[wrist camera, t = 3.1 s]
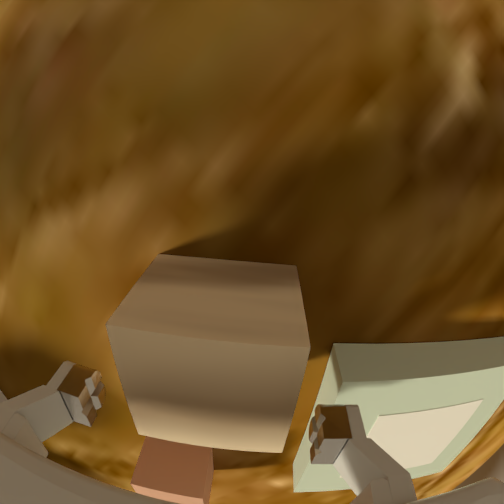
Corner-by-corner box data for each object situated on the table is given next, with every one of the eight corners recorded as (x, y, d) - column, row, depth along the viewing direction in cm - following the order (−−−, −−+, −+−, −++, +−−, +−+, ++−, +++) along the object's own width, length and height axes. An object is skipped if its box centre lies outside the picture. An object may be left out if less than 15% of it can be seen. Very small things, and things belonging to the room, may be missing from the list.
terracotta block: (147, 431, 18) (130, 483, 13) (212, 442, 17) (202, 498, 13) (157, 459, 19) (145, 505, 15) (213, 469, 19) (206, 517, 15)
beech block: (159, 252, 12) (105, 324, 8) (296, 264, 12) (310, 347, 7) (168, 354, 14) (138, 434, 10) (280, 366, 14) (281, 452, 10)
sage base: (333, 343, 13) (343, 382, 11) (509, 335, 13) (529, 360, 11) (293, 463, 18) (293, 492, 16) (433, 448, 18) (441, 471, 15)
